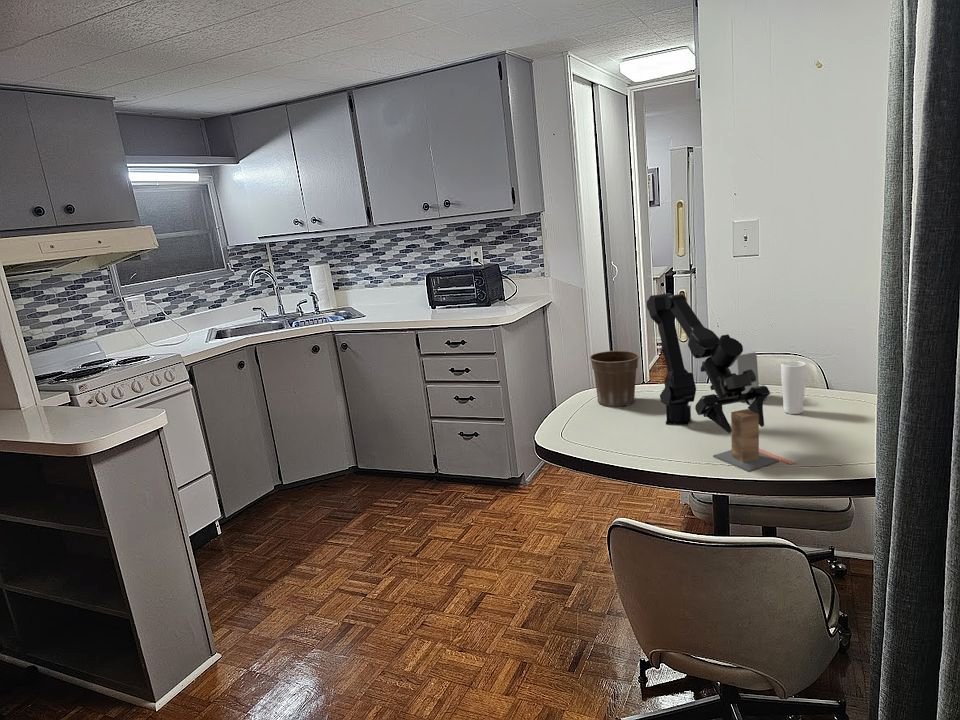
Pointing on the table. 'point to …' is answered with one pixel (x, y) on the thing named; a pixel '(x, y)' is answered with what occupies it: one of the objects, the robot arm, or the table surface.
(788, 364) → the drinking glass
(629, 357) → the plant pot
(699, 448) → the table surface
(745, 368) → the skincare box
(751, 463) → the mat
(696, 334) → the robot arm
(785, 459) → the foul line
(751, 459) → the walnut block
